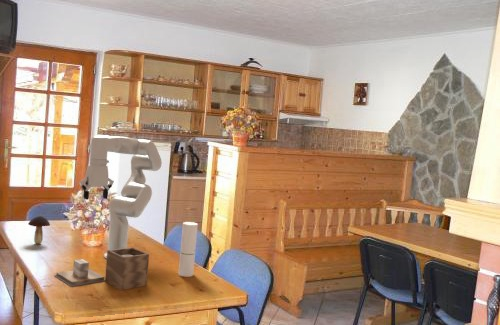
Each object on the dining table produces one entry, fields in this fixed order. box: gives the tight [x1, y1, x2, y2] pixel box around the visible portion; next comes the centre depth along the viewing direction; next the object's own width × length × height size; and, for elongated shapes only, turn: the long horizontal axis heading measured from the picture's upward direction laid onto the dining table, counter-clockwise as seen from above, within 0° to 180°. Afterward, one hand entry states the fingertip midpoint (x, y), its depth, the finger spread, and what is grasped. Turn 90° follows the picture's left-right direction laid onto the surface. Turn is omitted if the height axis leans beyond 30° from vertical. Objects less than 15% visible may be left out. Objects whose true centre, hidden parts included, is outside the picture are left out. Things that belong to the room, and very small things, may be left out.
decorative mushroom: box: [28, 216, 51, 245], centre depth 276 cm, size 11×11×15 cm
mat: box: [54, 274, 105, 288], centre depth 227 cm, size 16×16×1 cm
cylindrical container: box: [178, 221, 199, 278], centre depth 247 cm, size 7×7×25 cm
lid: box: [55, 259, 105, 285], centre depth 227 cm, size 15×15×7 cm
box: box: [104, 247, 150, 291], centre depth 226 cm, size 13×13×14 cm
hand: (95, 198), depth 242 cm, fingers open, 9 cm apart
